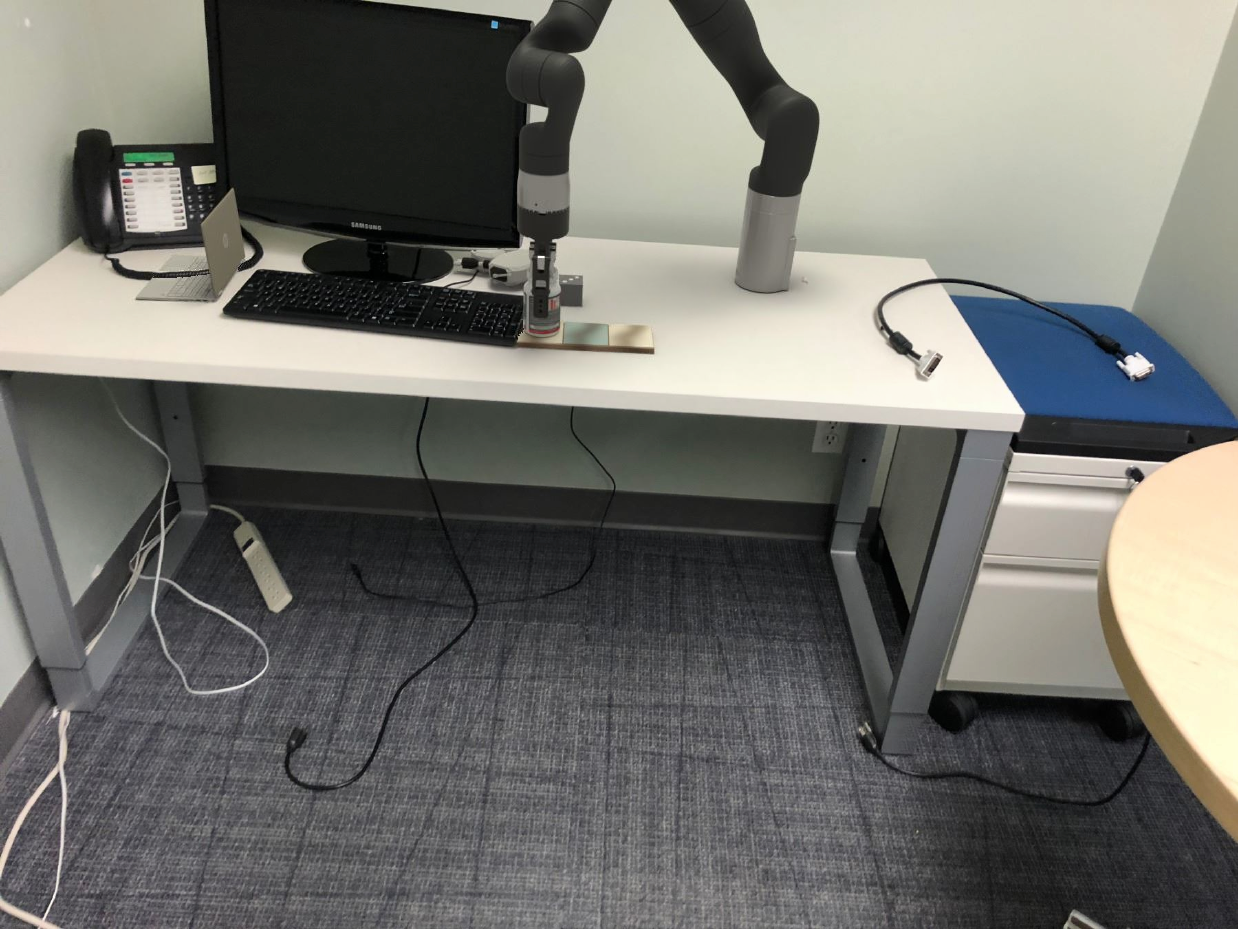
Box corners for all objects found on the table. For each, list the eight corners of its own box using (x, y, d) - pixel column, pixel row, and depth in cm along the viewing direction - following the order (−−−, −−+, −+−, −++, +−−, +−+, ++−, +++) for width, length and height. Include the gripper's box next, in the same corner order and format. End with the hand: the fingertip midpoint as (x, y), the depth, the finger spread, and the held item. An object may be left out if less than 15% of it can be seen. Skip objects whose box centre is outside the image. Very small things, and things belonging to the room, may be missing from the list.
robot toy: (449, 278, 165) (514, 297, 158) (447, 253, 163) (512, 271, 155) (496, 260, 174) (559, 276, 166) (495, 236, 171) (559, 251, 164)
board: (651, 330, 150) (651, 325, 150) (654, 353, 144) (654, 347, 143) (519, 324, 149) (519, 319, 148) (516, 347, 142) (516, 341, 142)
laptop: (172, 258, 163) (156, 184, 156) (247, 261, 164) (234, 187, 157) (135, 301, 148) (116, 221, 141) (218, 304, 149) (202, 224, 142)
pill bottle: (567, 331, 146) (569, 270, 140) (541, 341, 142) (542, 280, 137) (541, 319, 149) (542, 259, 143) (515, 329, 145) (515, 268, 140)
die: (581, 297, 160) (582, 275, 157) (582, 307, 156) (583, 284, 154) (558, 296, 159) (559, 274, 157) (558, 306, 156) (558, 283, 154)
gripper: (520, 183, 140) (520, 285, 149) (514, 215, 128) (514, 324, 137) (570, 186, 140) (567, 287, 149) (569, 218, 128) (565, 326, 137)
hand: (541, 305), depth 143 cm, fingers open, 8 cm apart
